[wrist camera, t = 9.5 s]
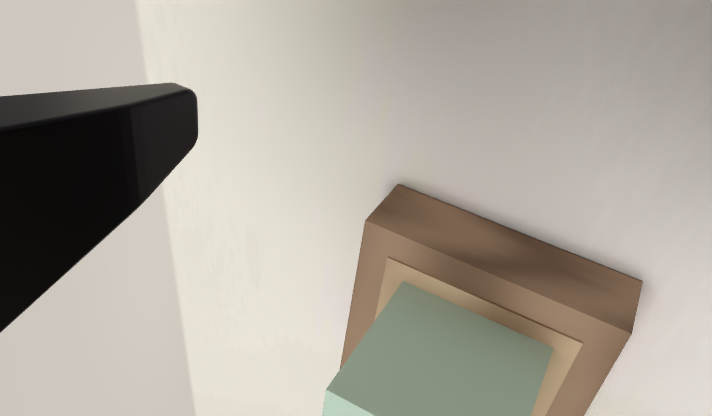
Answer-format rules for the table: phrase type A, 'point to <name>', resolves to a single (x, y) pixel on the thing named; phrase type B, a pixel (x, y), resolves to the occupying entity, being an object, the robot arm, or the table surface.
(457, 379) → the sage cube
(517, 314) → the walnut base
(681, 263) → the table surface
